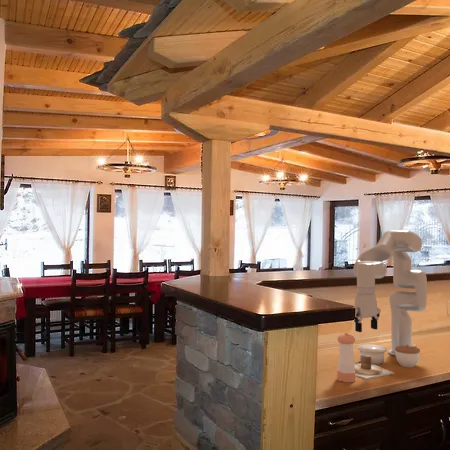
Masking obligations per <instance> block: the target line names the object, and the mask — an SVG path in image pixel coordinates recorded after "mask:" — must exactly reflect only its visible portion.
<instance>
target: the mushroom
mask: <svg viewBox="0 0 450 450" xmlns="http://www.w3.org/2000/svg"><path fill="white" fill-rule="evenodd" d="M357 350H358V351H359V361H361V355H369V356H371V364H372V365H376V366H379V365H380V364H383V363H384V362H385V353H386V352H387V346H383V345H380V344H373V343H372V344H370V343H369V344H368V343H367V344H366V343H364V344H358V345H357Z"/></svg>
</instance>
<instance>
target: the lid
mask: <svg viewBox="0 0 450 450" xmlns="http://www.w3.org/2000/svg"><path fill="white" fill-rule="evenodd" d="M383 369H384V368H383V367H382V366H379V365H372V364H371V356H369V355H361V360H360V363H355V368H354V371H355V373H357V374H363V375H379V374H382V373H383Z"/></svg>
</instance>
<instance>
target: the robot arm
mask: <svg viewBox="0 0 450 450" xmlns="http://www.w3.org/2000/svg"><path fill="white" fill-rule="evenodd" d="M422 241H423V240H422V238H421V236H420V235H419V234H416V233H414V232H413V231H411V230H407V229H405V230H403V229H401V230H398V229H397V230H396V229H395V230H394V229H393V230H392V229H391V230H386V231H384V233H383V234H382V235H381V238H380V239H379V240H378V241H377V243H376V245H375V246H373V247H371V248H369V249H367V250H365V251H364V252H362V253H360V255H359V256H358V258H357V259H356V260H355V263H354V265H353V274H354V276H356V287H357V288H356V292H357V293H355V298H354V306H353V308H354V307H355V308H356V315H355V320H353V322H354V323H355V324H354V326H355V328H354V329H355V332H357V333H362V332H363V323H362V320H363V319H367V318H368V319H369V318H371V319H370V328H371V329H372V330H378V321H379V318H380V314H381V310H382V309H381V308H379V307H378V301H377V295H376V279H383V278H384V277H385V276H386V275H387V271H388V269H387V265H386V264H385V263H384V262H385V261H387V260H389V259H391V258H392V260H393V268H392V269H393V271H392V272H393V275H392V277H393V278H392V279H393V280H392V281H393V285H394V287H396V288H400V289H409V290H414V291H408V290H407V291H406V290H395V291H392V292H391V293H390V295H389V298H388V301H389V305H390V312H391V313H390V314H391V315H390V316H391V335H390V336H391V348H390V349H388V351H387V352H388V354H390V355H391V356H392V355H393V356H395V357H396V354H395V347H397V346H406V345H409V346H410V347H416V348H418V346H417V344H413V343H412V341H413V340H412V337H413V336H412V335H413V334H412V317H411V315H410V313H409V312H419V313H421V312H425V310H426V308H427V299H428V295H427V294H428V293H427V292H428V290H427V289H428V281H427V274H426V273H425V271H423V270H419V269H412V259H411V256H410V255H409V254H408V253H418V252H420V250H422V246H423V242H422ZM408 311H409V312H408Z"/></svg>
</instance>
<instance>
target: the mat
mask: <svg viewBox="0 0 450 450" xmlns="http://www.w3.org/2000/svg"><path fill="white" fill-rule="evenodd" d="M394 374H395V372H394V371H390V370H388V369H384V368H383V373H382V374H379V375H363V374H357V373H355V377H358V378H360V379H364V380H370V379H374V378H375V379H376V378H379V377H385V376H389V375H394Z"/></svg>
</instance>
